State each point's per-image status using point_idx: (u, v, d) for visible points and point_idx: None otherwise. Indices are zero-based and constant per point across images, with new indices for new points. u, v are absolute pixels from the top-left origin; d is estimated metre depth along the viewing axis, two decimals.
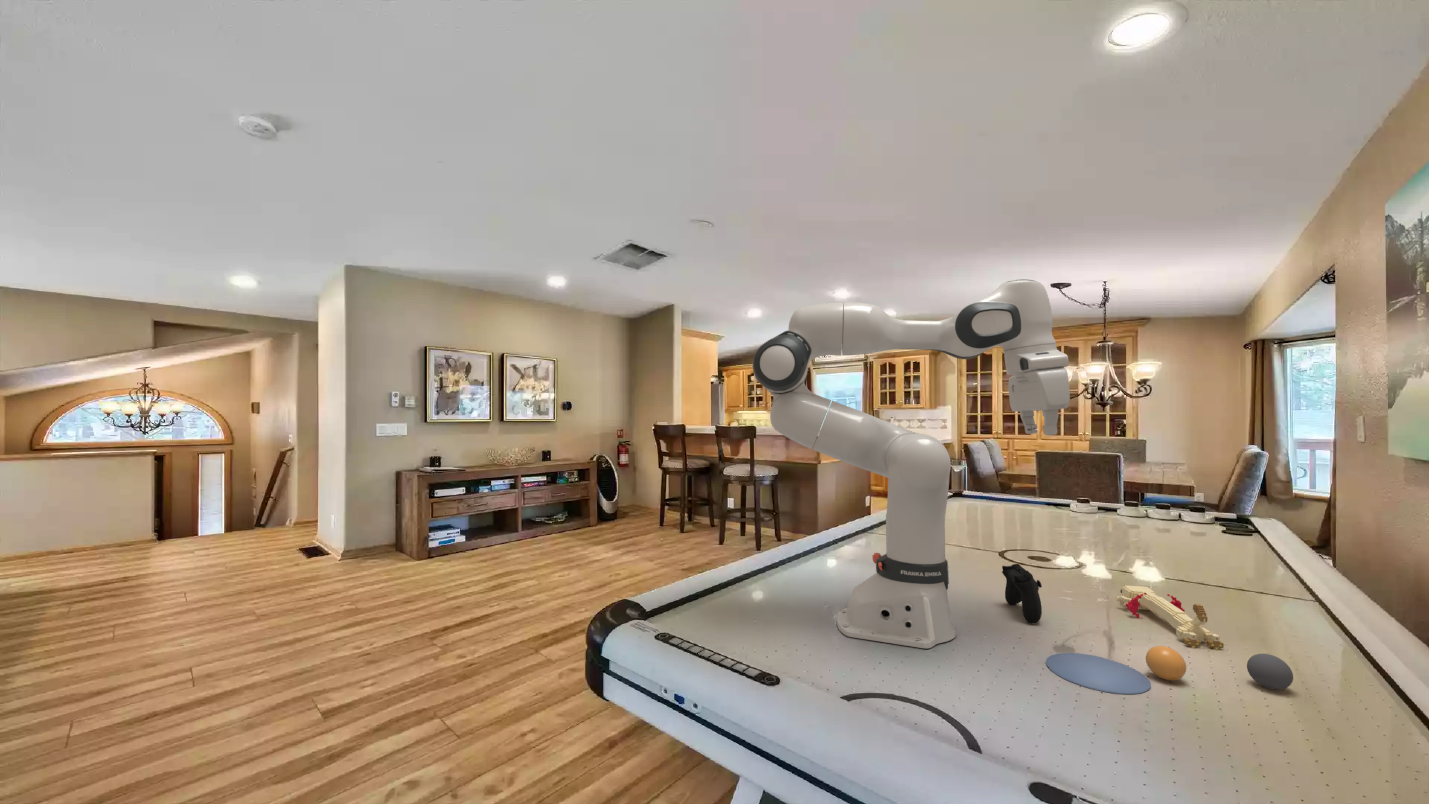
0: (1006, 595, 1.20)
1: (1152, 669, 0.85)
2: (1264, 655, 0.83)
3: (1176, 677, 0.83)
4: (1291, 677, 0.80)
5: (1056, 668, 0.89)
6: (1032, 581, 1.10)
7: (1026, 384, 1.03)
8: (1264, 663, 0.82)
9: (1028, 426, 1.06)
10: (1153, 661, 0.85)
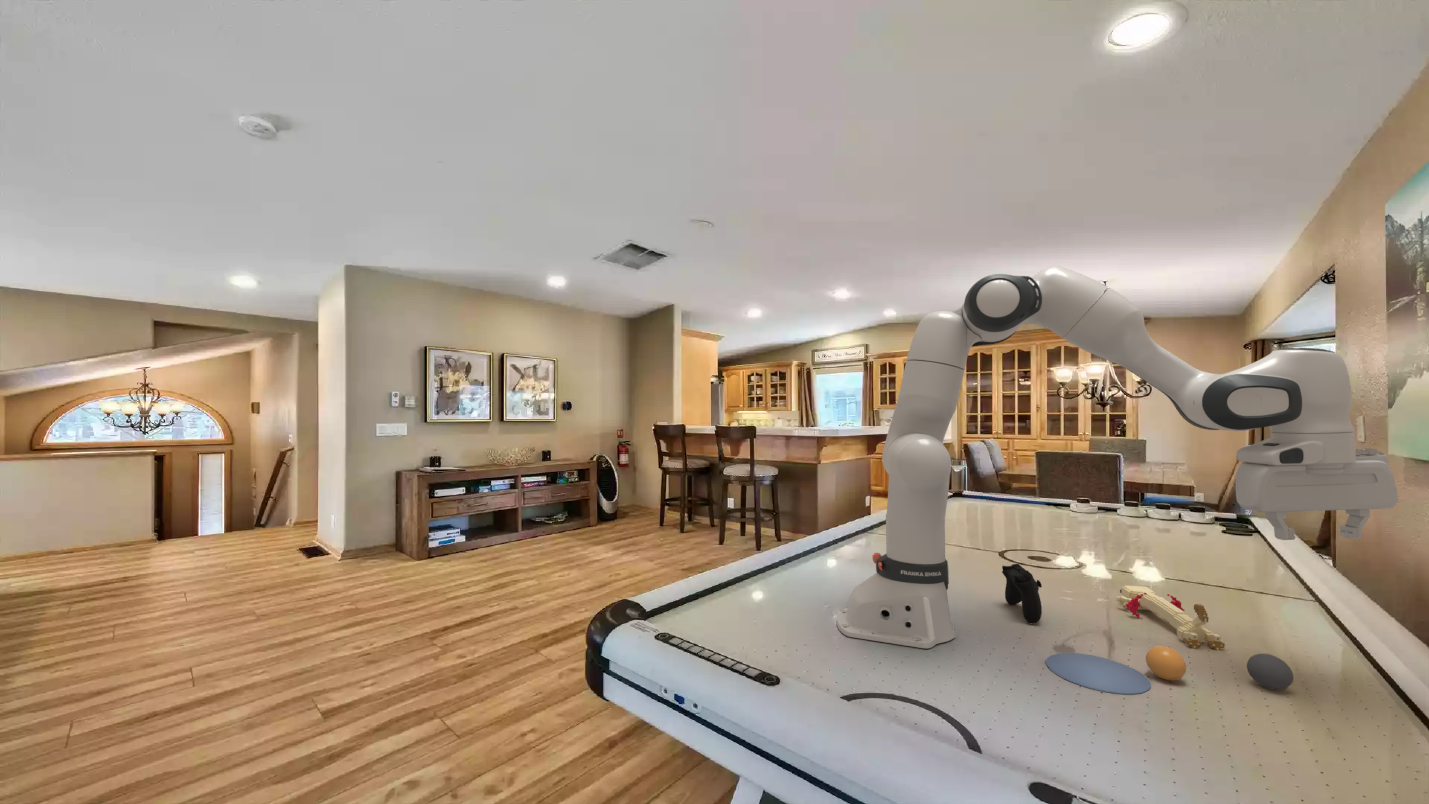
0: (1006, 595, 1.20)
1: (1152, 669, 0.85)
2: (1264, 655, 0.83)
3: (1176, 677, 0.83)
4: (1291, 677, 0.80)
5: (1056, 668, 0.89)
6: (1032, 581, 1.10)
7: None
8: (1264, 663, 0.82)
9: (1341, 527, 0.84)
10: (1153, 661, 0.85)
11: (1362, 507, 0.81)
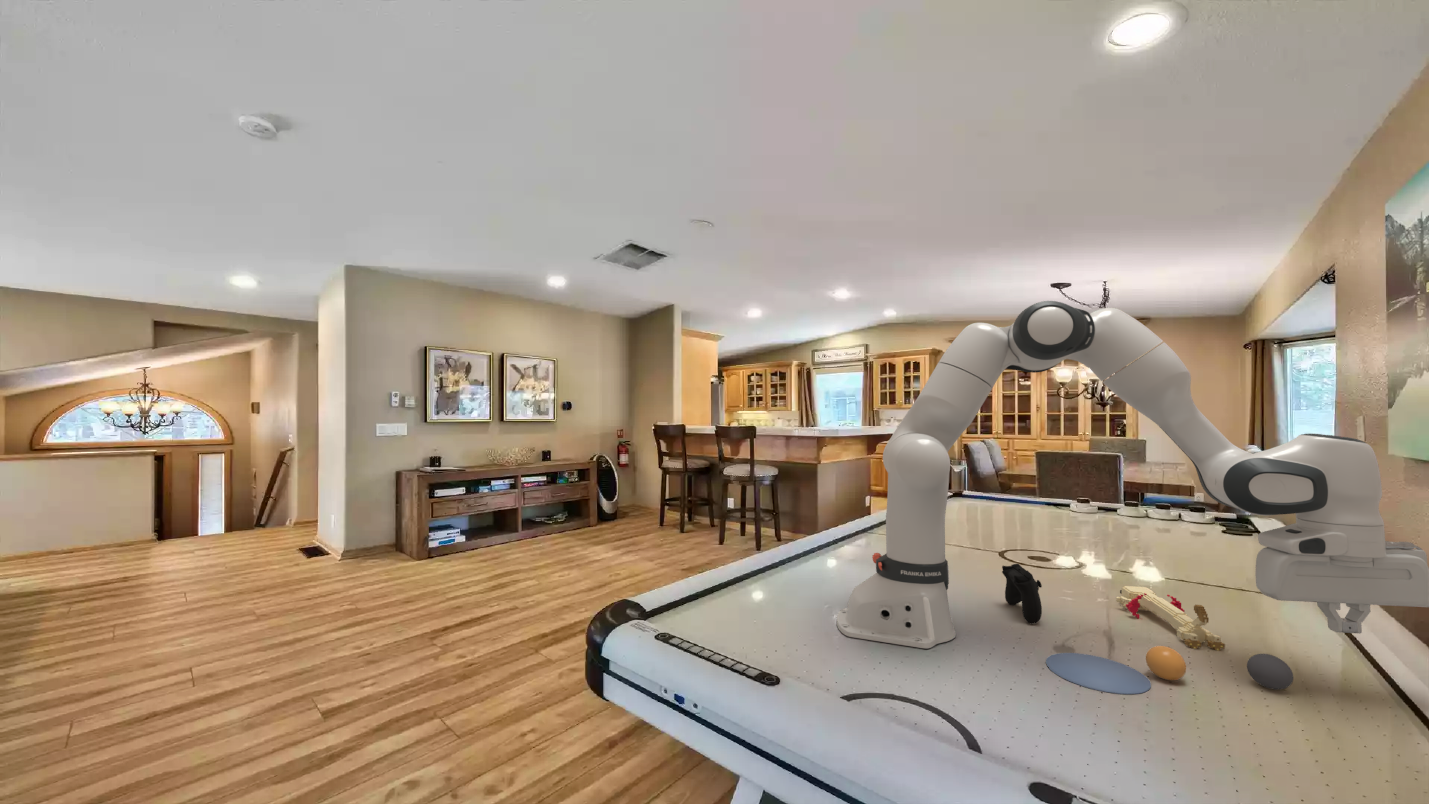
0: (1006, 595, 1.20)
1: (1152, 669, 0.85)
2: (1264, 655, 0.83)
3: (1176, 677, 0.83)
4: (1291, 677, 0.80)
5: (1056, 668, 0.89)
6: (1032, 581, 1.10)
7: None
8: (1264, 663, 0.82)
9: None
10: (1153, 661, 0.85)
11: (1394, 603, 0.79)
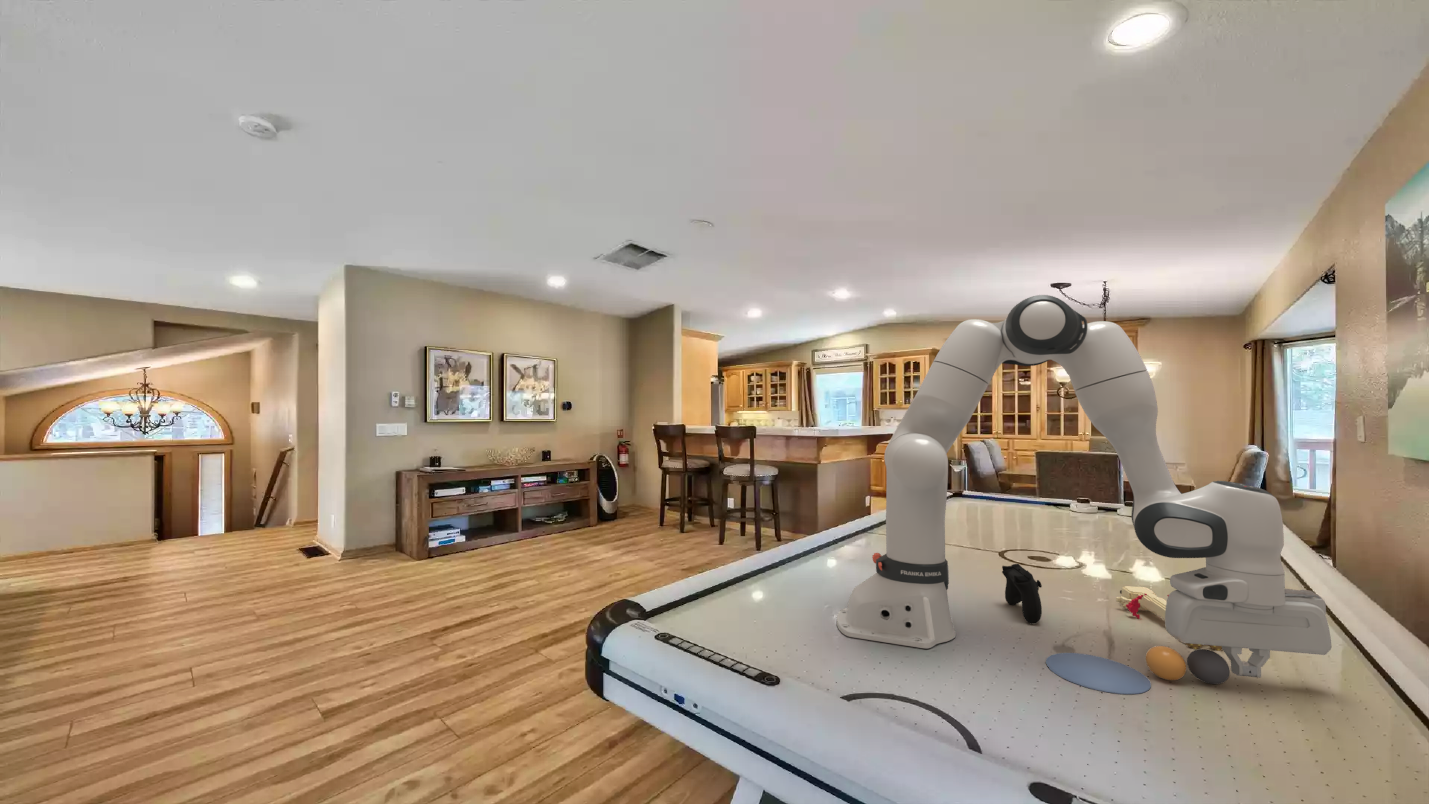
0: (1006, 595, 1.20)
1: (1152, 669, 0.85)
2: None
3: (1176, 677, 0.83)
4: (1206, 670, 0.83)
5: (1056, 668, 0.89)
6: (1032, 581, 1.10)
7: None
8: None
9: None
10: (1153, 661, 0.85)
11: (1291, 650, 0.81)
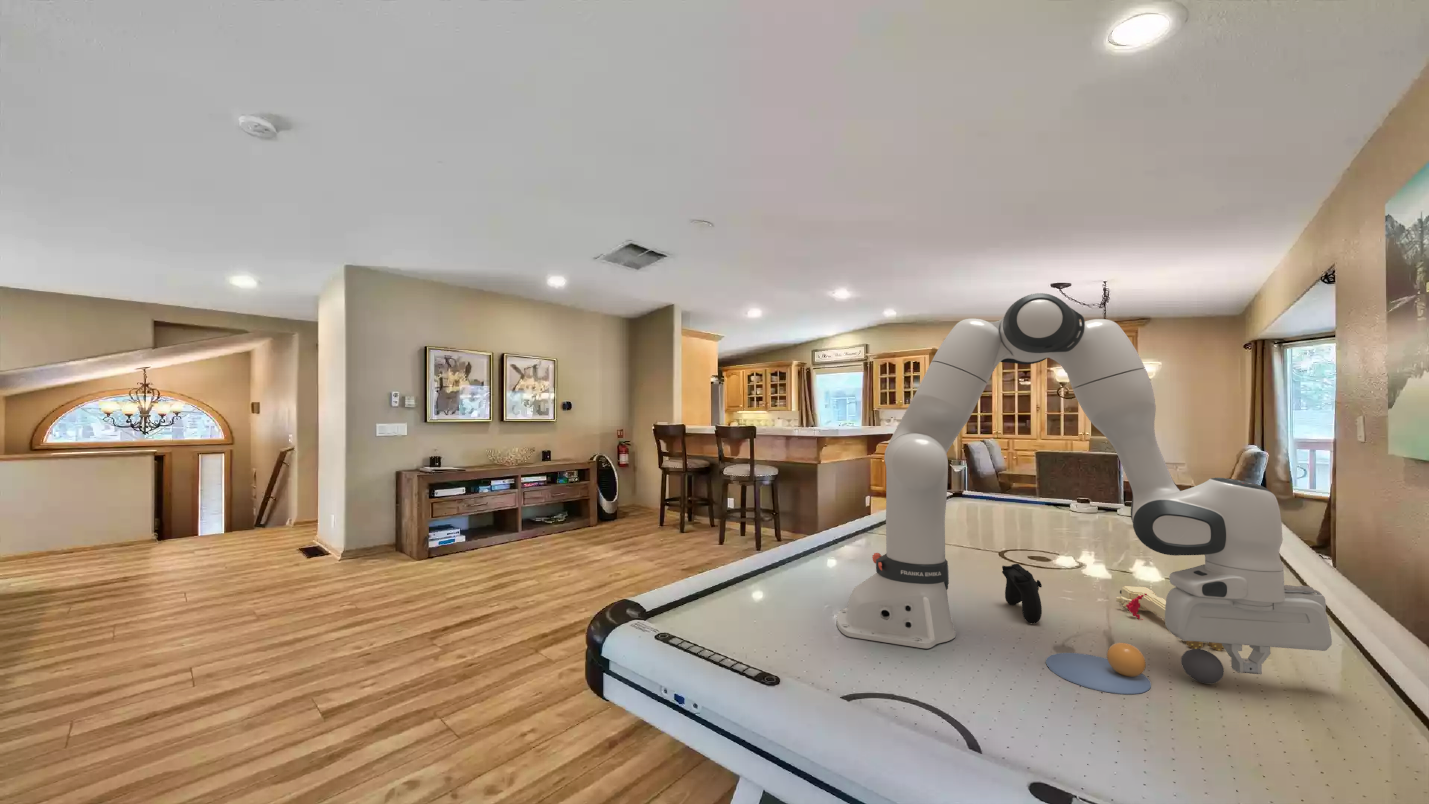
0: (1006, 595, 1.20)
1: None
2: None
3: (1139, 659, 0.85)
4: (1201, 673, 0.83)
5: (1056, 668, 0.89)
6: (1032, 581, 1.10)
7: None
8: (1219, 679, 0.83)
9: (1243, 660, 0.84)
10: None
11: (1292, 646, 0.81)
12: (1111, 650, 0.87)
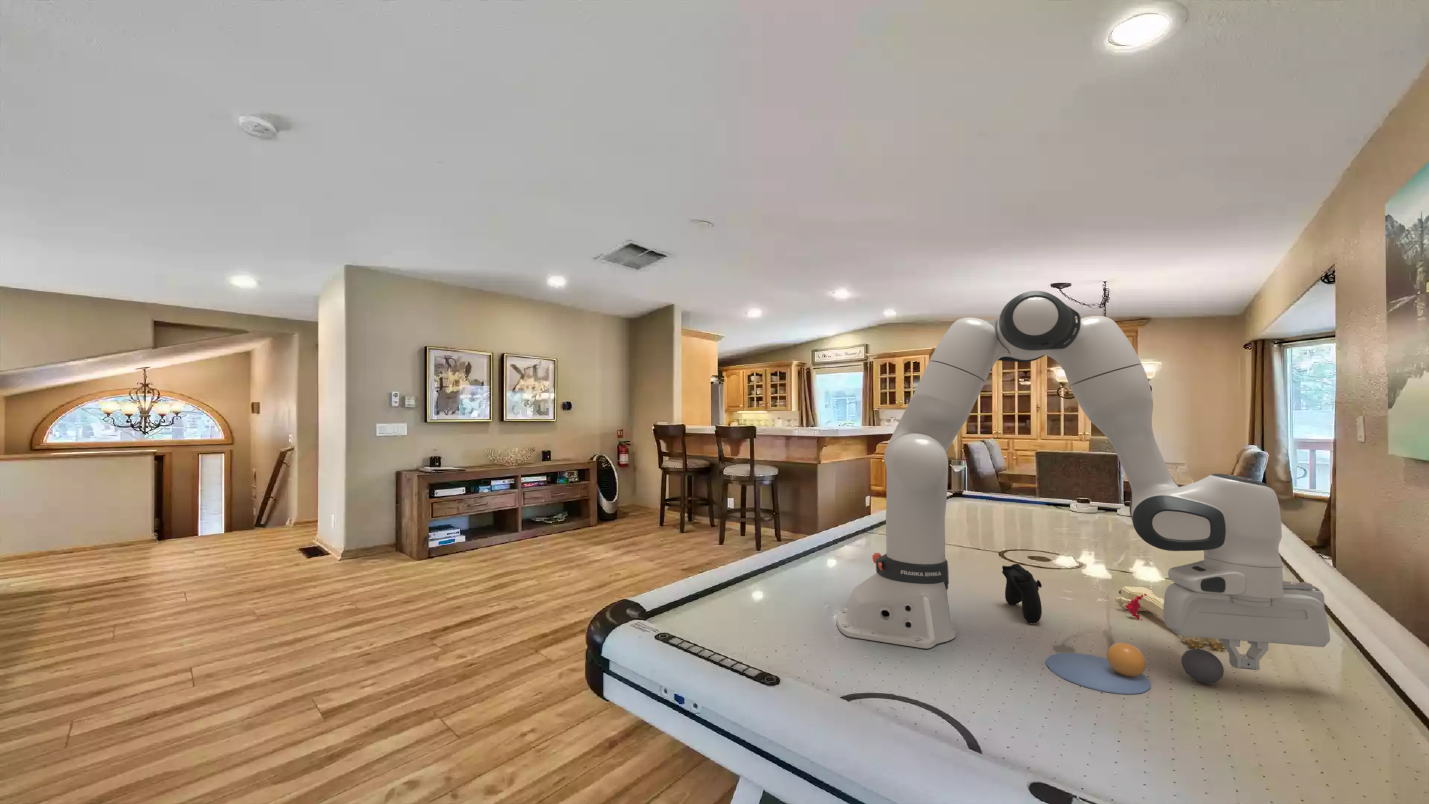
0: (1006, 595, 1.20)
1: None
2: None
3: (1139, 659, 0.85)
4: (1201, 673, 0.83)
5: (1056, 668, 0.89)
6: (1032, 581, 1.10)
7: None
8: (1219, 679, 0.83)
9: (1240, 656, 0.84)
10: None
11: (1290, 642, 0.81)
12: (1111, 650, 0.87)
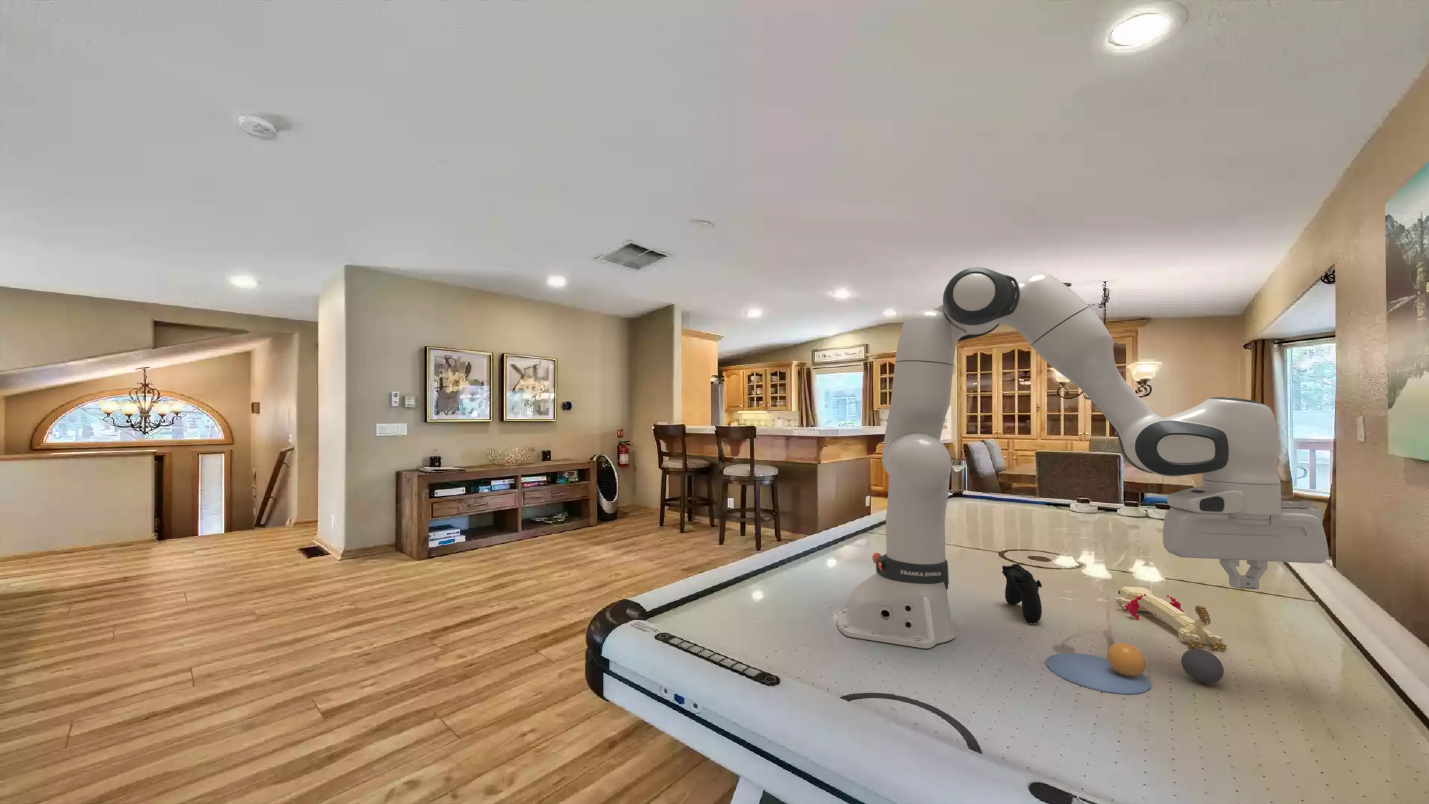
0: (1006, 595, 1.20)
1: None
2: None
3: (1139, 659, 0.85)
4: (1201, 673, 0.83)
5: (1056, 668, 0.89)
6: (1032, 581, 1.10)
7: None
8: (1219, 679, 0.83)
9: None
10: None
11: (1289, 560, 0.81)
12: (1111, 650, 0.87)
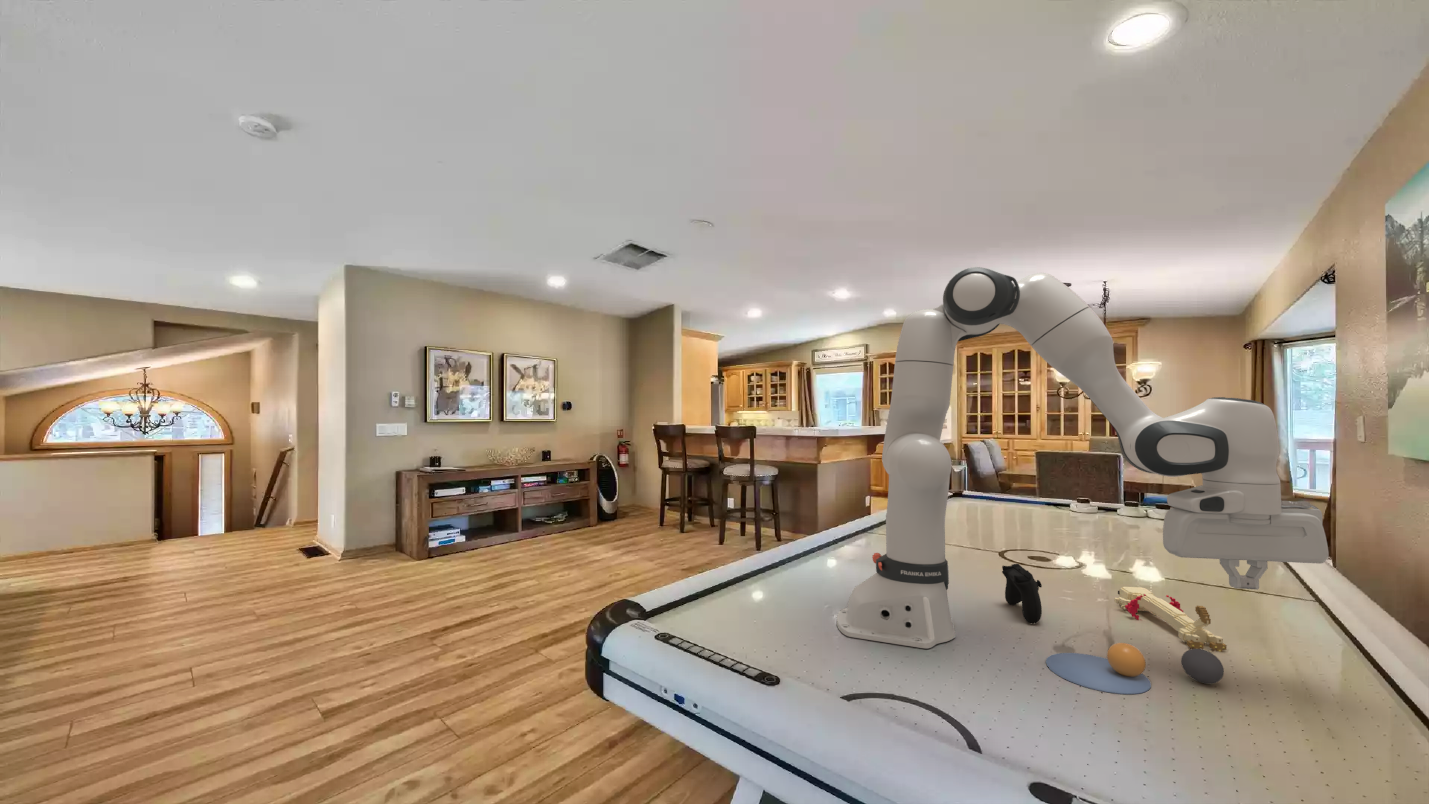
0: (1006, 595, 1.20)
1: None
2: None
3: (1139, 659, 0.85)
4: (1201, 673, 0.83)
5: (1056, 668, 0.89)
6: (1032, 581, 1.10)
7: None
8: (1219, 679, 0.83)
9: None
10: None
11: (1289, 560, 0.81)
12: (1111, 650, 0.87)
